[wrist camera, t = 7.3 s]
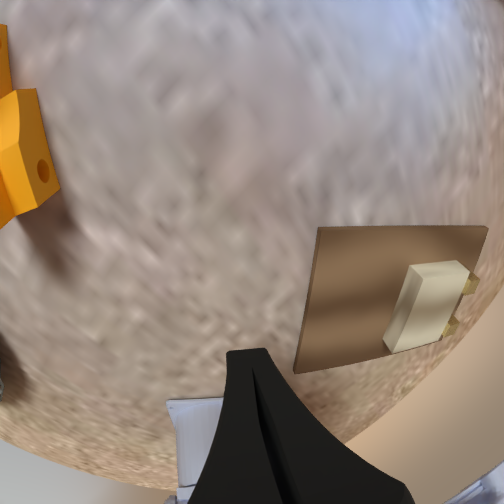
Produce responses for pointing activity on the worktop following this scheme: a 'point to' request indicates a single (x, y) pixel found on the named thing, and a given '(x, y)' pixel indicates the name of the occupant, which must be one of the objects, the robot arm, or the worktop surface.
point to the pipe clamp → (21, 147)
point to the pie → (1, 384)
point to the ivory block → (425, 304)
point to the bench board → (369, 286)
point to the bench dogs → (468, 289)
